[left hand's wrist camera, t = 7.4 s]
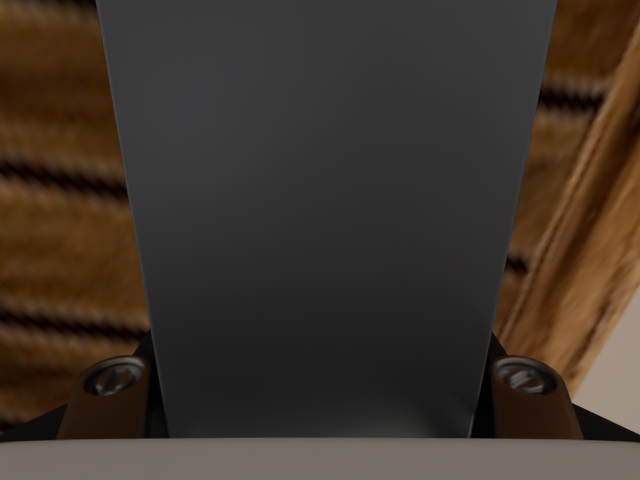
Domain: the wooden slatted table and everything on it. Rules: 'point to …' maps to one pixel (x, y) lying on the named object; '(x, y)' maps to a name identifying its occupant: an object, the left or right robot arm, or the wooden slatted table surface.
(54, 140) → the wooden slatted table surface
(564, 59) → the wooden slatted table surface
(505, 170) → the post
